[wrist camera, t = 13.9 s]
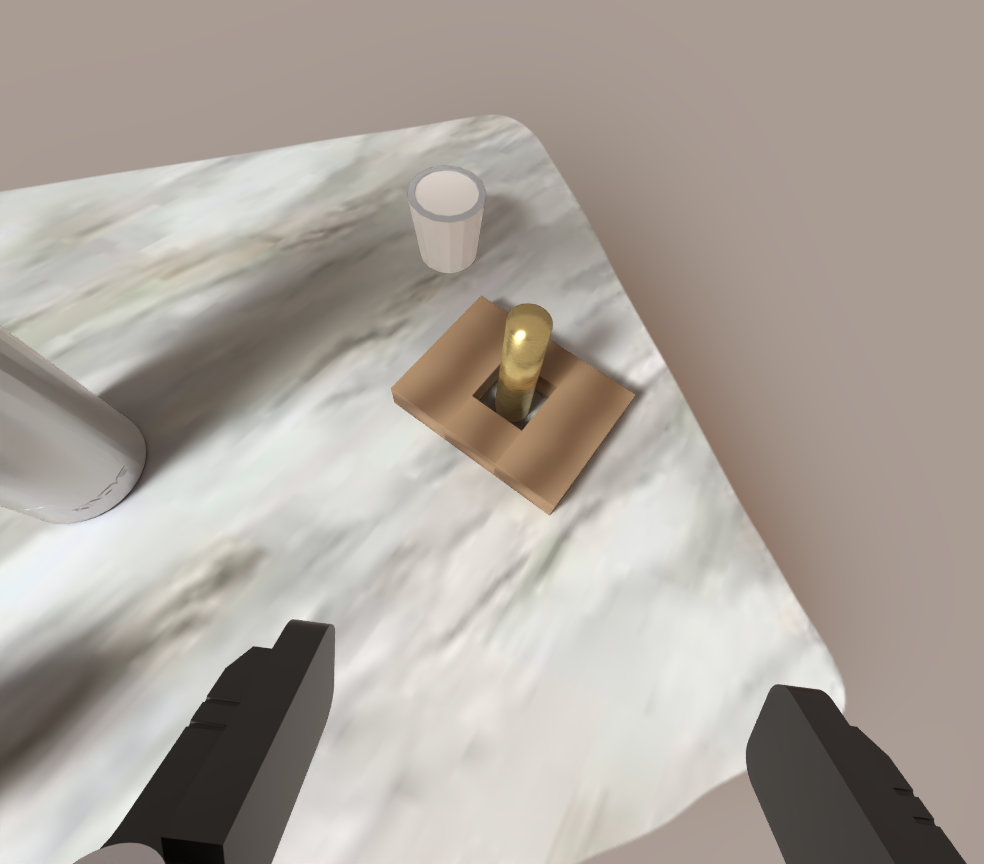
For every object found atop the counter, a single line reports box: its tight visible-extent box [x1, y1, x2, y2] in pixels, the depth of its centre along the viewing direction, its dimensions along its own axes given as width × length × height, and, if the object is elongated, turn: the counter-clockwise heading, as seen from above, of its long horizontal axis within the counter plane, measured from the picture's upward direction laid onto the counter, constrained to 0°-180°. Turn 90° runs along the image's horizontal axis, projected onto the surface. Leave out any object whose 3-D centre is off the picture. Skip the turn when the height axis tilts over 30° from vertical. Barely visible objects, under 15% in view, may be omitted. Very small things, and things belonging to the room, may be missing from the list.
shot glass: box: [407, 165, 486, 273], centre depth 47 cm, size 7×7×7 cm
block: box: [391, 296, 635, 515], centre depth 43 cm, size 16×12×2 cm
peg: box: [495, 303, 553, 422], centre depth 38 cm, size 3×3×12 cm
